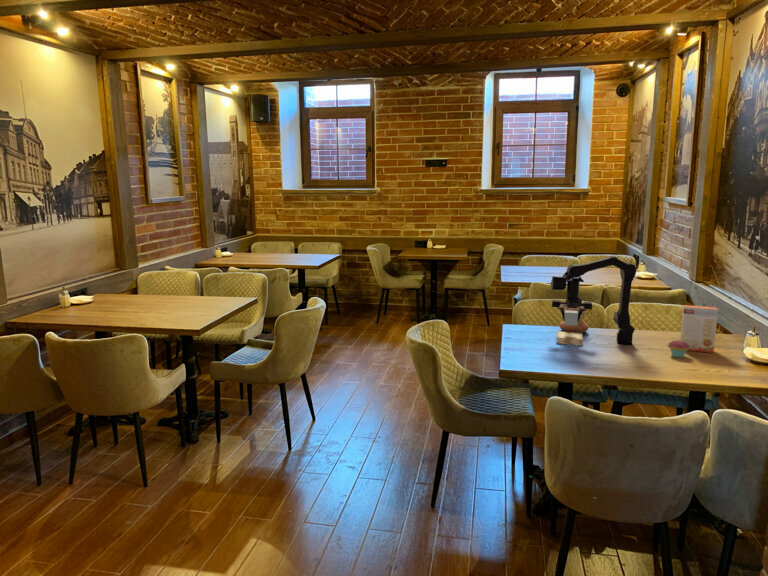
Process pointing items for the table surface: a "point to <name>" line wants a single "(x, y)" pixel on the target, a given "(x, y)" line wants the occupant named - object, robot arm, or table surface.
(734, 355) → the table surface
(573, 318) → the gray cube
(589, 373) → the table surface
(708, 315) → the cracker box
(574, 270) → the robot arm
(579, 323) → the ceramic jug
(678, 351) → the cupcake
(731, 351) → the table surface
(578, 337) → the birch board
